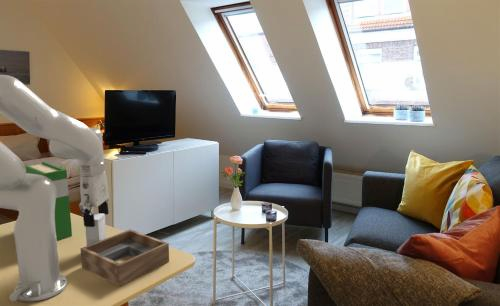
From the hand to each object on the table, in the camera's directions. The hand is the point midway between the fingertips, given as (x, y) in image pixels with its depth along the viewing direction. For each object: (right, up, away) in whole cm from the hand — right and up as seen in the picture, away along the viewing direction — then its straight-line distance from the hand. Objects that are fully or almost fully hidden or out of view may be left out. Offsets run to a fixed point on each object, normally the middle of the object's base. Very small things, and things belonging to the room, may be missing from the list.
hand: (96, 220), depth 130 cm
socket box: (+12, -12, -7) cm, 18 cm away
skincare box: (0, -11, +1) cm, 11 cm away
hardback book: (-23, -7, +16) cm, 29 cm away
